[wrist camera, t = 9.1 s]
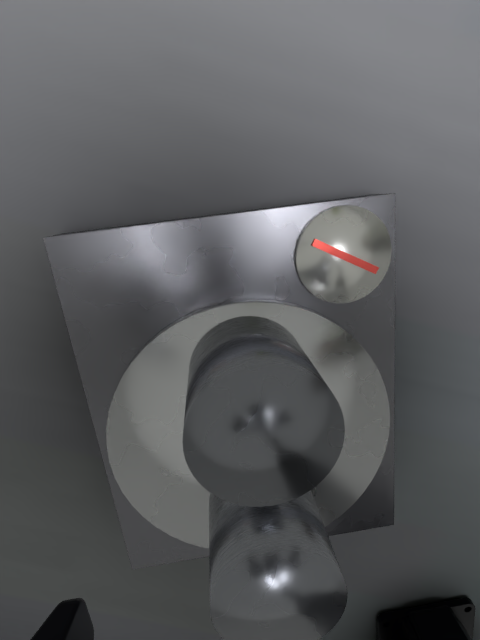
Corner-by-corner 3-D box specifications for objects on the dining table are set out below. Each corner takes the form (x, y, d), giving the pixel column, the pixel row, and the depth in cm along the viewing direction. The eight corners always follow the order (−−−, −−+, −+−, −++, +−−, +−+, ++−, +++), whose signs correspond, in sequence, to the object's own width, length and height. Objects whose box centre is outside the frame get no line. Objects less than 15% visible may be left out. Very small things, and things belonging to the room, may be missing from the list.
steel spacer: (306, 414, 17) (345, 494, 13) (196, 429, 17) (193, 517, 12) (301, 309, 16) (343, 354, 11) (181, 323, 16) (171, 375, 11)
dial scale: (377, 497, 22) (399, 533, 20) (138, 537, 22) (130, 580, 19) (374, 194, 17) (402, 192, 15) (61, 233, 17) (36, 239, 14)
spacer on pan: (313, 533, 19) (349, 640, 15) (216, 549, 19) (220, 664, 14) (307, 450, 18) (344, 539, 13) (201, 467, 18) (200, 564, 13)
